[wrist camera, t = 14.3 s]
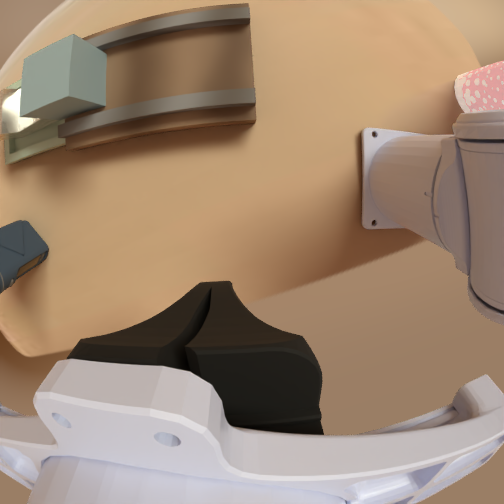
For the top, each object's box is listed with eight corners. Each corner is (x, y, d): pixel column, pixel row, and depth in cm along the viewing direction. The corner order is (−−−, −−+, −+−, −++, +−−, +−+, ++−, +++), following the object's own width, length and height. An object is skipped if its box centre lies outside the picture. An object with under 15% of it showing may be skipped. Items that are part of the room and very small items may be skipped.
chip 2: (66, 73, 15) (45, 70, 13) (65, 117, 17) (43, 117, 14) (40, 89, 16) (19, 88, 14) (39, 130, 18) (18, 131, 15)
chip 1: (3, 88, 12) (-9, 99, 13) (1, 133, 14) (-10, 142, 14) (37, 89, 16) (23, 98, 16) (36, 130, 17) (23, 137, 18)
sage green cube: (107, 54, 15) (73, 33, 10) (105, 106, 16) (68, 95, 12) (61, 71, 15) (24, 58, 10) (60, 120, 16) (19, 117, 12)
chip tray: (76, 58, 16) (70, 54, 15) (75, 142, 19) (68, 142, 18) (13, 89, 16) (6, 87, 15) (13, 163, 19) (5, 164, 18)
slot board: (248, 14, 16) (248, -4, 13) (255, 123, 19) (256, 117, 16) (80, 50, 16) (62, 40, 13) (79, 149, 19) (58, 150, 16)
